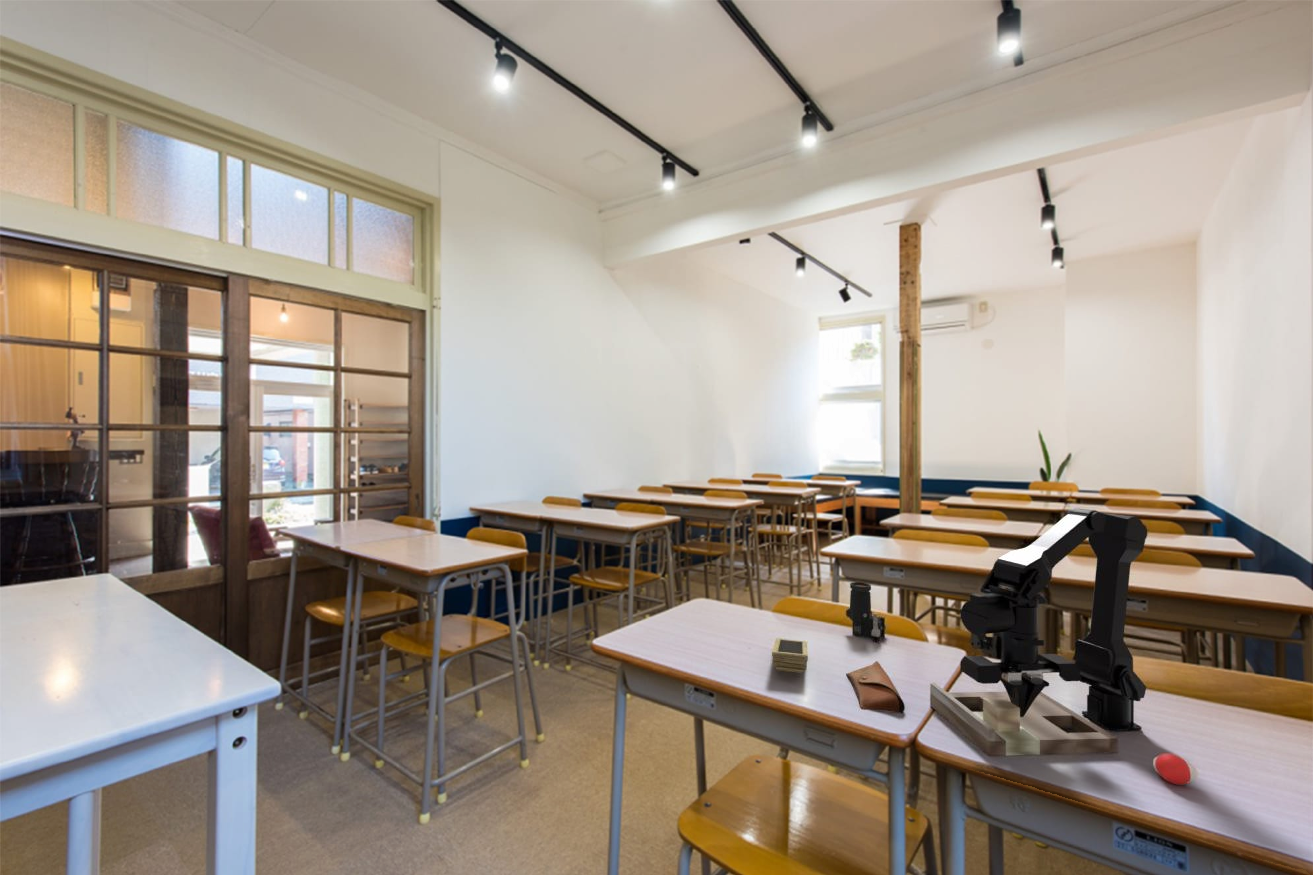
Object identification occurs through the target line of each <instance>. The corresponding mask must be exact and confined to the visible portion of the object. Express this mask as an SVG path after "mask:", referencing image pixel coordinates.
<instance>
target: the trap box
mask: <svg viewBox="0 0 1313 875" xmlns="http://www.w3.org/2000/svg"><path fill="white" fill-rule="evenodd" d="M929 684H930V686H929V687H930V688H929V690H930V693H929V694H930V696H929V705H930V707H932V709H934V710H935V711H936V712H937V713H938V714H940V715H941V716H942V717H943V718H944V719H946V721H947V722H949V723H950V724H951V725H952V726H953V727H955V728H956V729H957V730H958V731H959V732H960V733H962V734H963V735H964V736H965V737H966V738H967V739H968V740H969V741H971V742H972V744H974V745H975V746H976V747H978V748H979V749H980V750H981V751H982V752H984V753H985V755H987V756H988V757H996V756H997V757H999V756H1000V757H1002V756H1003V757H1004V756H1007V757H1008V756H1040V755H1041V756H1043V755H1044V756H1045V755H1047V756H1048V755H1083V754H1085V755H1087V754H1088V755H1089V754H1118V753H1119V750H1118V749H1119V738H1118V737H1116V736H1115V735H1114V734H1112V733H1110V732H1108V731H1107V730H1105V729H1103V728H1102V727H1100V726H1098V725H1097V724H1095V723H1093V722H1092V721H1090V720H1088V719H1086V718H1085V717H1083V715H1080V714H1078V713H1077V712H1075V711H1074V710H1072V709H1070V708H1068V707H1066V706H1065V705H1063V704H1062V703H1060V702H1059V701H1057V700H1056V699H1053V698H1052V697H1050V696H1049V695H1047V694H1045V693H1043V692H1042V691H1041V692H1040V693H1039V695H1038V696H1037V697H1036V698H1035V700H1034V701H1033V703H1032V704H1031V706H1030V707H1029V709H1028V711H1027V712H1026V714H1025V715H1024V717H1020V731H1007V732H998V731H996V730H995V729H994V728H993V727H991V726H990V725H989V724H987V723H986V722H985V721H984V720H983V698H1005V699H1007V700H1008V701H1010V698H1009V696H1008V693H1007V691H970V692H969V691H967V692H965V691H963V692H961V691H959V692H958V691H957V692H947V691H946V690H945V689H943V687H941V686H940V685H938V684H937V683H936V682H930V683H929ZM1010 702H1011V701H1010Z"/></svg>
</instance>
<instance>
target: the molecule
mask: <svg viewBox="0 0 1313 875" xmlns="http://www.w3.org/2000/svg"><path fill="white" fill-rule="evenodd" d="M1152 760H1153V761H1152V766H1153V768H1154V770H1155V771H1156V772H1157V773H1158V774H1159V775H1160V776H1161V777H1162V779H1164V780H1165V781H1167V782H1168V783H1170V784H1173V785H1179V786H1181V785H1182V786H1183V785H1186V784H1188V783H1193V782H1195V781H1196V780H1197V779H1198V778H1199V773H1198V772H1199V771H1198V770H1197V768H1196V767H1195V766H1194V764H1192V762H1190V761H1187V760H1185V759H1184V758H1183V757H1180V756H1179V755H1176V754H1173V753H1162V754H1159V755H1158V756H1156V757H1154V758H1153V759H1152Z"/></svg>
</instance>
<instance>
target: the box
mask: <svg viewBox="0 0 1313 875" xmlns="http://www.w3.org/2000/svg"><path fill="white" fill-rule="evenodd" d="M771 656H772V667H775V670H776V671H781V672H789V673H797V674H798V673H800V674H804V671H807V666H808V660H809V658H808V656H809V655H808V641H806V640H805V641H804V640H799V639H798V640H795V639H786V638H779V637H776V638H775V641H774V644H773V648H772V651H771Z"/></svg>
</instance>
